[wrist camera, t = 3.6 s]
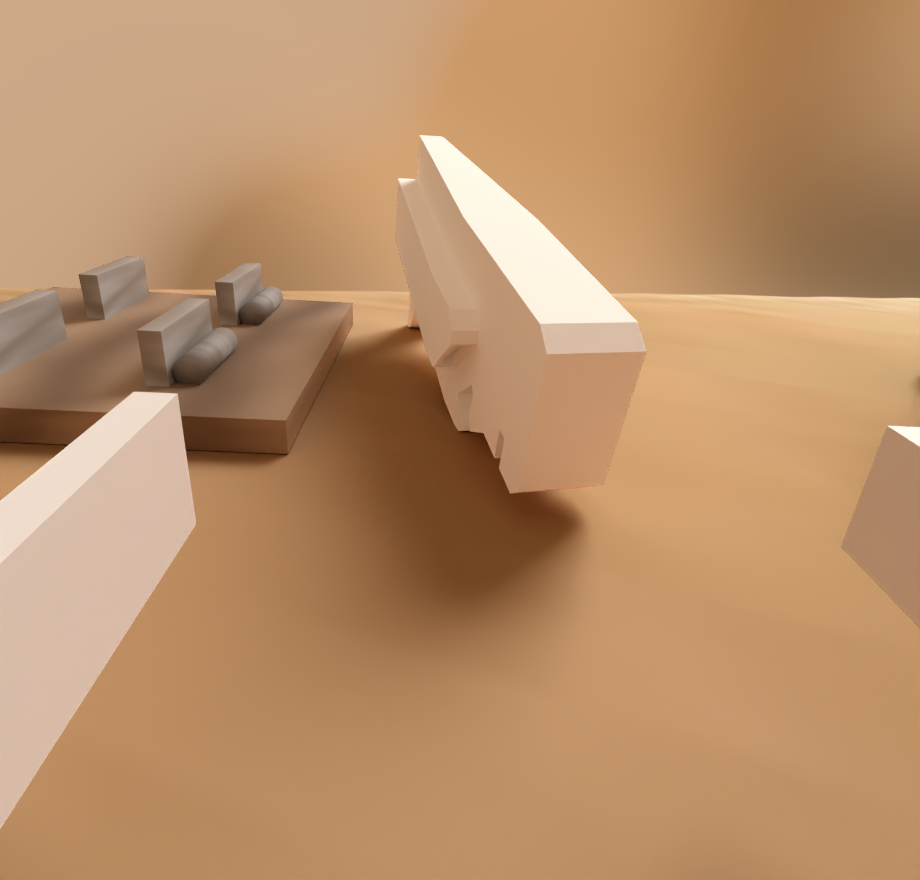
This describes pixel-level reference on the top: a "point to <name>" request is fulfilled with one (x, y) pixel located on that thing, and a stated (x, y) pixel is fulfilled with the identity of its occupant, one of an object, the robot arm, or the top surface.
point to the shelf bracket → (514, 326)
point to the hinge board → (166, 357)
